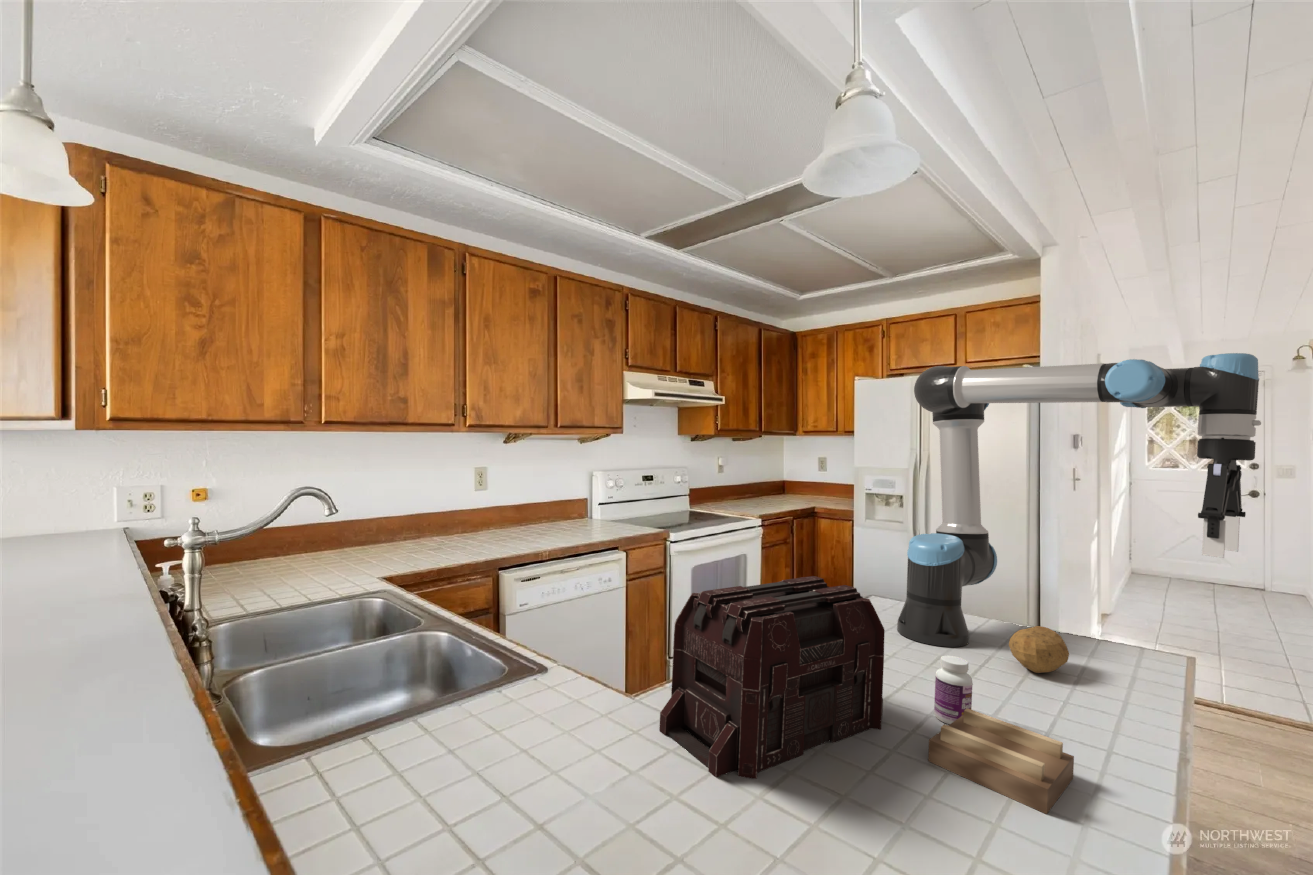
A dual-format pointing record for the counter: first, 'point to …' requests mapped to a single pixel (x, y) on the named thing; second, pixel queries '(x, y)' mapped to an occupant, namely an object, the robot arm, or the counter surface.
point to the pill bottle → (952, 689)
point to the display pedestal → (1004, 759)
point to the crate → (773, 673)
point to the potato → (1039, 649)
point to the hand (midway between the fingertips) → (1220, 553)
